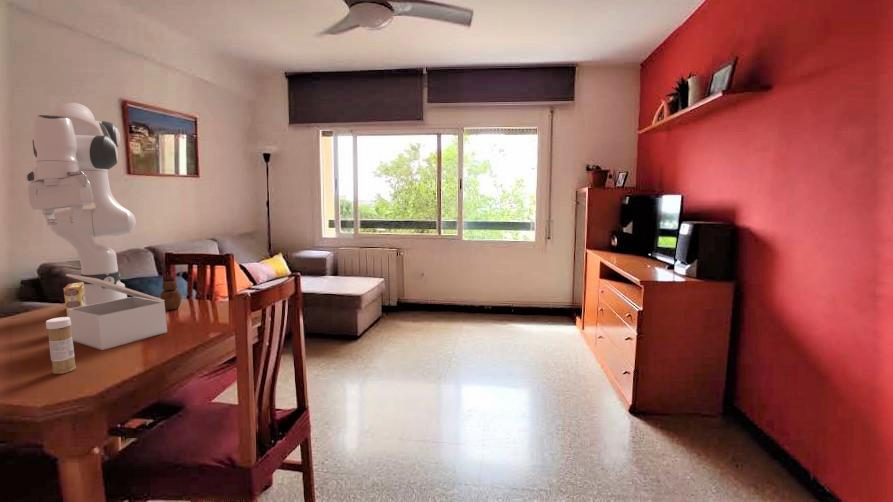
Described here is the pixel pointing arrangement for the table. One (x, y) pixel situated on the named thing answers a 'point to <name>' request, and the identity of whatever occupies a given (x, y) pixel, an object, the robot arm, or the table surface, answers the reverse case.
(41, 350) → the table surface
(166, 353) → the table surface
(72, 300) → the candy box
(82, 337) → the carton
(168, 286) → the wooden figurine
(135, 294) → the carton flap
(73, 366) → the sprinkles bottle
